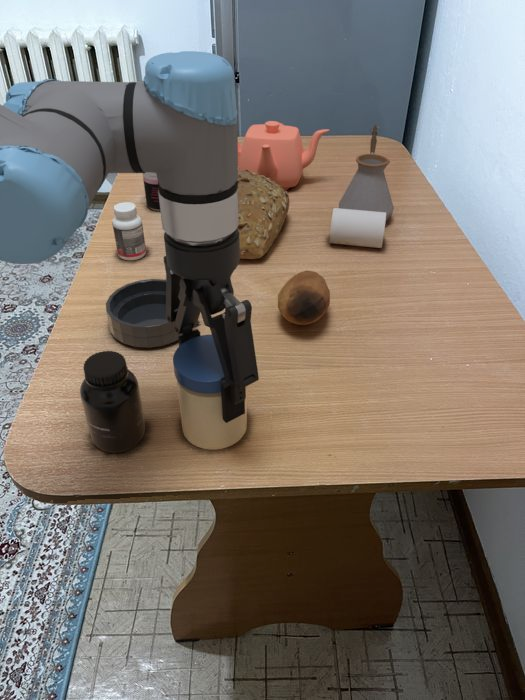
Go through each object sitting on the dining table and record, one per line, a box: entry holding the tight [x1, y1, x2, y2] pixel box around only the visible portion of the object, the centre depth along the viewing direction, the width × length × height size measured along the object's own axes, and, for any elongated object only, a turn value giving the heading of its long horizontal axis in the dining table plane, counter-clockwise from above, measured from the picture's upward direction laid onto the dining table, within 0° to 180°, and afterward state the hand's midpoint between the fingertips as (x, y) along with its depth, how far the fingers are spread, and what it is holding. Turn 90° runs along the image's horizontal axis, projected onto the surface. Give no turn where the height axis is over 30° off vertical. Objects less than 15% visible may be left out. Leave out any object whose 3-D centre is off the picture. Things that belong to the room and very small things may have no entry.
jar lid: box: [172, 334, 225, 394], centre depth 67 cm, size 9×9×2 cm
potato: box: [277, 270, 331, 326], centre depth 90 cm, size 8×14×8 cm
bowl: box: [105, 278, 179, 349], centre depth 89 cm, size 13×13×4 cm
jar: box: [175, 378, 248, 450], centre depth 70 cm, size 8×8×10 cm
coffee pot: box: [338, 124, 395, 221], centre depth 120 cm, size 21×12×15 cm, turn 169°
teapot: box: [238, 120, 330, 191], centre depth 131 cm, size 18×18×14 cm
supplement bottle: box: [79, 350, 146, 453], centre depth 69 cm, size 7×7×12 cm
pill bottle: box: [111, 201, 147, 261], centre depth 105 cm, size 5×5×10 cm
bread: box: [237, 169, 290, 260], centre depth 111 cm, size 24×21×12 cm
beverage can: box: [142, 172, 161, 212], centre depth 120 cm, size 7×7×15 cm
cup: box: [329, 207, 387, 249], centre depth 110 cm, size 7×7×10 cm
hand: (212, 394), depth 70 cm, fingers closed on jar lid, 9 cm apart
